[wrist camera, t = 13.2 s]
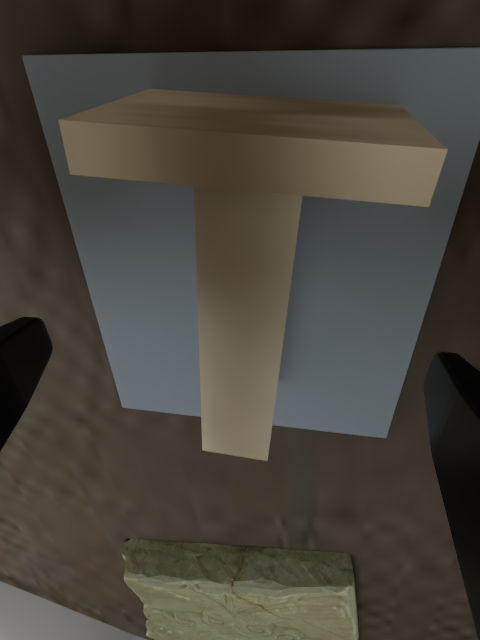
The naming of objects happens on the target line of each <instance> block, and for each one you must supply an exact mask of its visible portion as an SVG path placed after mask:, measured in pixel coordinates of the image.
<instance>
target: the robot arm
mask: <svg viewBox="0 0 480 640" xmlns="http://www.w3.org/2000/svg"><path fill="white" fill-rule="evenodd" d="M52 350H53V346H52V342H51V339H50V337H49V334H48V332H47V329H46V326H45V324H44V322H43V321H42V320H41V319H40V318H35V317H22V318H19V319H17V320H14V321H12V322H10V323H8V324H5V325H3V326H1V327H0V451H1V450H2V448H3V446H4V445H5V443H6V441H7V440H8V438H9V436H10V434H11V433H12V431H13V429H14V428H15V426H16V424H17V423H18V421H19V419H20V418H21V416H22V414H23V413H24V411H25V409H26V407H27V405H28V403H29V401H30V399H31V397H32V395H33V393H34V391H35V389H36V387H37V384H38V382H39V380H40V378H41V376H42V374H43V371H44V369H45V367H46V365H47V363H48V361H49V359H50V356H51V354H52ZM424 396H425V404H426V412H427V420H428V429H429V437H430V445H431V452H432V457H433V462H434V466H435V470H436V474H437V478H438V482H439V486H440V490H441V494H442V498H443V502H444V506H445V510H446V514H447V518H448V522H449V526H450V530H451V534H452V538H453V542H454V546H455V550H456V554H457V558H458V562H459V566H460V570H461V574H462V578H463V582H464V586H465V590H466V594H467V597H468V601H469V605H470V609H471V613H472V617H473V621H474V625H475V629H476V633H477V637H478V640H480V372H479V371H478V370H477V369H476V368H474V367H473V366H472V365H471V364H470V363H468V362H467V361H466V360H465V359H464V358H462V357H461V356H460V355H458V354H456V353H449V352H437V353H435V354H434V356H433V358H432V360H431V363H430V366H429V369H428V372H427V375H426V377H425V381H424Z"/></svg>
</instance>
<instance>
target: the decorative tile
mask: <svg viewBox="0 0 480 640" xmlns="http://www.w3.org/2000/svg"><path fill="white" fill-rule="evenodd" d="M121 554H122V556H123V558H124V560H125V561H126V562H125V571H124V581H125V582H126V583H127V585H128V586H129V587H130V588H131V589H132V590H133V591H134V592H135V593H136V594H137V595H138V596H139V597H140V599H141V600H142V602H143V603H144V610H143V612H144V614H145V616H146V617H147V618H148V619H147V621H146V627H147V631H146V635H147V636H148V637H150V638H152V639H155V640H358V638H359V633H358V618H357V605H356V592H355V580H354V573H353V565H352V559H351V555H349V554H346V553H337V552H323V551H308V550H292V549H280V548H266V547H245V546H232V545H219V544H207V543H191V542H174V541H160V540H144V539H130V540H129V541H127V542H126V543H124V545H123V548H122V551H121Z"/></svg>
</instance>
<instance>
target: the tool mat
mask: <svg viewBox="0 0 480 640" xmlns="http://www.w3.org/2000/svg"><path fill="white" fill-rule="evenodd" d="M22 59H23V62H24V66H25V69H26V73H27V76H28V80H29V83H30V87H31V90H32V94H33V97H34V101H35V104H36V108H37V111H38V114H39V118H40V121H41V125H42V128H43V132H44V135H45V139H46V142H47V146H48V149H49V153H50V156H51V160H52V163H53V167H54V170H55V174H56V177H57V181H58V184H59V188H60V191H61V195H62V198H63V202H64V205H65V209H66V212H67V216H68V219H69V223H70V226H71V230H72V233H73V237H74V240H75V244H76V247H77V250H78V254H79V257H80V261H81V264H82V268H83V271H84V275H85V278H86V282H87V285H88V289H89V292H90V296H91V299H92V303H93V306H94V310H95V313H96V317H97V320H98V324H99V327H100V331H101V334H102V338H103V341H104V345H105V348H106V352H107V355H108V359H109V362H110V366H111V369H112V373H113V376H114V379H115V383H116V386H117V390H118V393H119V397H120V400H121V404H122V407H123V408H131V409H140V410H148V411H157V412H165V413H174V414H182V415H191V416H199V417H201V390H200V360H199V330H198V299H197V269H196V238H195V208H194V186H191V185H180V184H169V183H158V182H147V181H136V180H125V179H114V178H103V177H92V176H81V175H70V172H69V167H68V163H67V158H66V153H65V149H64V144H63V139H62V135H61V130H60V125H59V121H58V120H60V119H63V118H66V117H69V116H71V115H74V114H77V113H80V112H83V111H86V110H89V109H92V108H95V107H98V106H101V105H104V104H107V103H110V102H113V101H115V100H118V99H121V98H124V97H127V96H130V95H133V94H136V93H139V92H142V91H145V90H148V89H161V90H176V91H192V92H208V93H223V94H239V95H254V96H270V97H285V98H301V99H316V100H332V101H347V102H363V103H378V104H394V105H401V106H402V107H403V108H404V109H405V110H406V111H407V112H408V113H409V114H410V115H411V116H413V117H414V118H415V119H416V120H417V121H418V122H419V123H420V124H421V125H422V126H423V127H424V128H426V129H427V130H428V131H429V132H430V133H431V134H432V135H433V136H434V137H435V138H436V139H437V140H438V141H440V142H441V143H442V144H443V145H444V146H445V147H446V148H447V149H448V151H447V154H446V157H445V160H444V163H443V166H442V169H441V172H440V175H439V178H438V181H437V184H436V187H435V190H434V193H433V196H432V199H431V202H430V205H429V207H422V206H411V205H400V204H389V203H378V202H367V201H356V200H345V199H334V198H323V197H312V196H302V203H301V211H300V219H299V226H298V234H297V241H296V249H295V256H294V264H293V271H292V279H291V287H290V294H289V302H288V309H287V317H286V324H285V332H284V339H283V347H282V355H281V362H280V370H279V377H278V385H277V392H276V400H275V407H274V415H273V423H272V425H276V426H285V427H293V428H302V429H310V430H319V431H327V432H336V433H344V434H353V435H361V436H370V437H379V438H386V437H387V433H388V430H389V427H390V424H391V421H392V418H393V414H394V411H395V408H396V405H397V402H398V398H399V395H400V392H401V389H402V386H403V382H404V379H405V376H406V373H407V370H408V367H409V363H410V360H411V357H412V354H413V351H414V347H415V344H416V341H417V338H418V335H419V331H420V328H421V325H422V322H423V319H424V316H425V312H426V309H427V306H428V303H429V300H430V296H431V293H432V290H433V287H434V284H435V280H436V277H437V274H438V271H439V268H440V264H441V261H442V258H443V255H444V252H445V249H446V245H447V242H448V239H449V236H450V233H451V229H452V226H453V223H454V220H455V217H456V213H457V210H458V207H459V204H460V201H461V198H462V194H463V191H464V188H465V185H466V182H467V178H468V175H469V172H470V169H471V166H472V162H473V159H474V156H475V153H476V150H477V147H478V143H479V140H480V47H459V48H401V49H343V50H285V51H227V52H169V53H111V54H53V55H26V56H22Z"/></svg>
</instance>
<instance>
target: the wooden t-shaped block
mask: <svg viewBox="0 0 480 640" xmlns="http://www.w3.org/2000/svg"><path fill="white" fill-rule="evenodd" d="M58 121H59V125H60V130H61V135H62V139H63V144H64V149H65V153H66V158H67V163H68V167H69V172H70V175H81V176H92V177H103V178H114V179H125V180H136V181H147V182H158V183H169V184H180V185H191V186H194V208H195V238H196V269H197V299H198V330H199V360H200V390H201V421H202V450H204V451H210V452H216V453H222V454H228V455H234V456H240V457H246V458H252V459H258V460H264V461H267V460H268V453H269V445H270V438H271V430H272V423H273V415H274V407H275V400H276V392H277V385H278V377H279V370H280V362H281V355H282V347H283V339H284V332H285V324H286V317H287V309H288V302H289V294H290V287H291V279H292V271H293V264H294V256H295V249H296V241H297V234H298V226H299V219H300V211H301V203H302V196H312V197H323V198H334V199H345V200H356V201H367V202H378V203H389V204H400V205H411V206H422V207H429V205H430V202H431V199H432V196H433V193H434V190H435V187H436V184H437V181H438V178H439V175H440V172H441V169H442V166H443V163H444V160H445V157H446V154H447V151H448V149H447V148H446V147H445V146H444V145H443V144H442V143H441V142H440V141H438V140H437V139H436V138H435V137H434V136H433V135H432V134H431V133H430V132H429V131H428V130H427V129H426V128H424V127H423V126H422V125H421V124H420V123H419V122H418V121H417V120H416V119H415V118H414V117H413V116H411V115H410V114H409V113H408V112H407V111H406V110H405V109H404V108H403V107H402V106H401V105H394V104H378V103H363V102H347V101H332V100H316V99H301V98H285V97H270V96H254V95H239V94H223V93H208V92H192V91H176V90H161V89H148V90H145V91H142V92H139V93H136V94H133V95H130V96H127V97H124V98H121V99H118V100H115V101H113V102H110V103H107V104H104V105H101V106H98V107H95V108H92V109H89V110H86V111H83V112H80V113H77V114H74V115H71V116H69V117H66V118H63V119H60V120H58Z"/></svg>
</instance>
